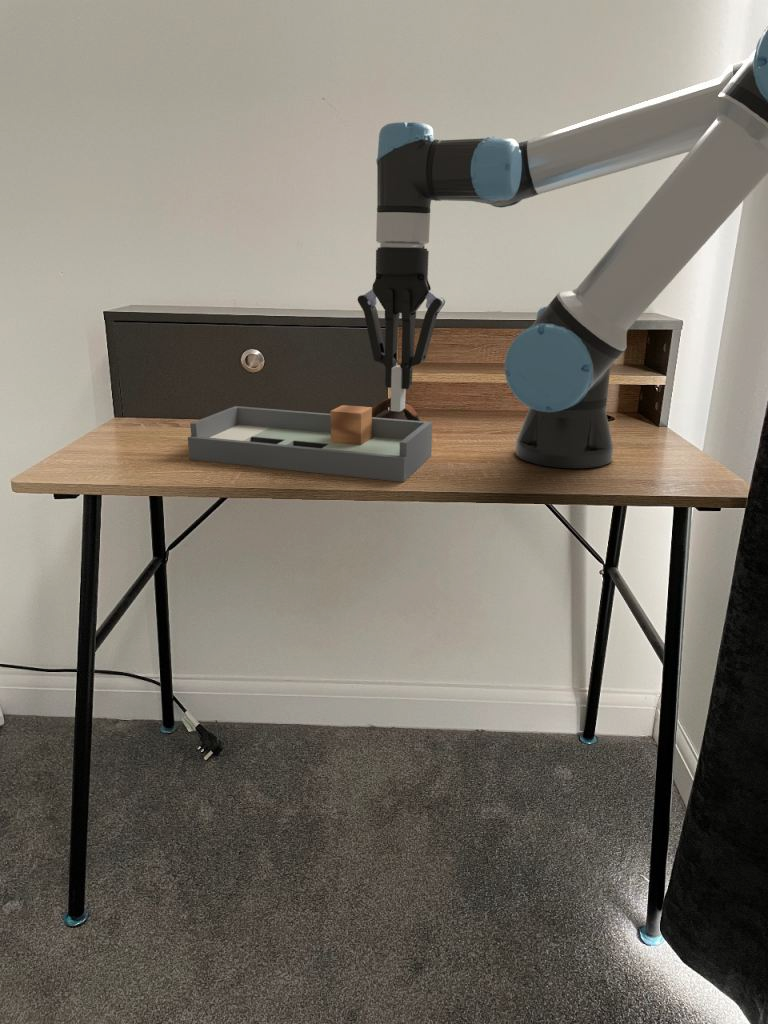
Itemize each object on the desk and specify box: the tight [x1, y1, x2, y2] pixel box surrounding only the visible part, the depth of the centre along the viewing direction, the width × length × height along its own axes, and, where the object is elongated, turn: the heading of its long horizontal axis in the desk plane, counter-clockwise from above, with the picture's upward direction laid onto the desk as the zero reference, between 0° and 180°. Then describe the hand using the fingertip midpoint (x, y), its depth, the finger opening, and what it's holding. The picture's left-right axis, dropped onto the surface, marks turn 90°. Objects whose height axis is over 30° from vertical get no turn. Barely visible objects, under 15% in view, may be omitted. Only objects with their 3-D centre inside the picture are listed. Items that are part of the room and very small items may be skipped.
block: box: [330, 404, 373, 445], centre depth 117 cm, size 5×5×5 cm
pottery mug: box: [372, 397, 421, 421], centre depth 129 cm, size 12×10×8 cm
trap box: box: [187, 405, 433, 483], centre depth 116 cm, size 35×15×6 cm, turn 71°
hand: (397, 409), depth 113 cm, fingers closed
